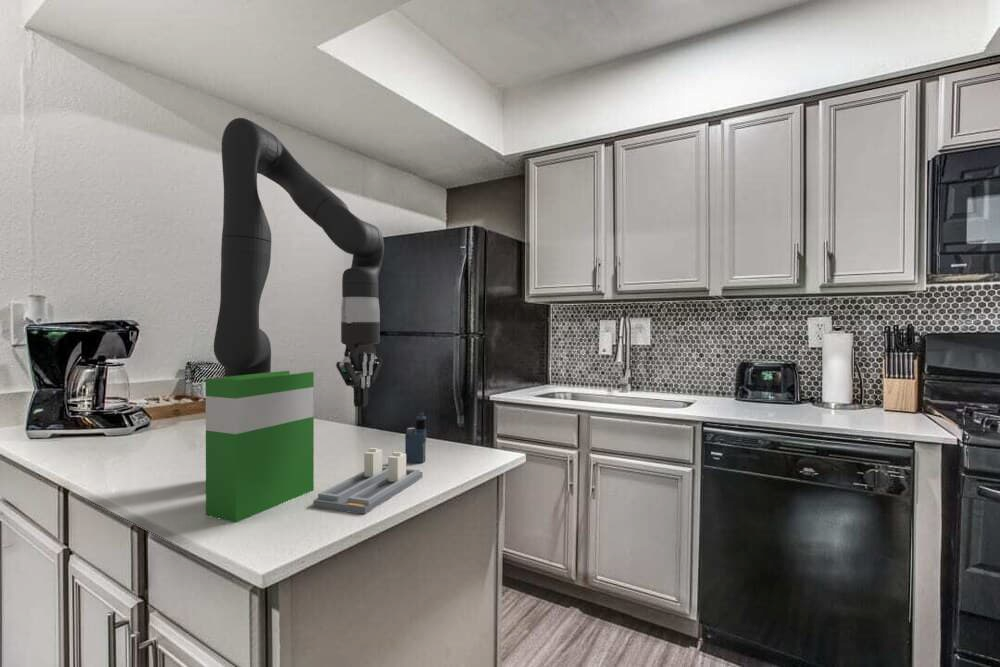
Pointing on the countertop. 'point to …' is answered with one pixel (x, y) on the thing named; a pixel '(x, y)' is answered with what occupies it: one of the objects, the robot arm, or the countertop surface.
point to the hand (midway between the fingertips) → (360, 406)
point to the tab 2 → (396, 466)
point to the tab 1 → (372, 462)
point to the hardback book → (258, 442)
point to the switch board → (364, 491)
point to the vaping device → (416, 441)
